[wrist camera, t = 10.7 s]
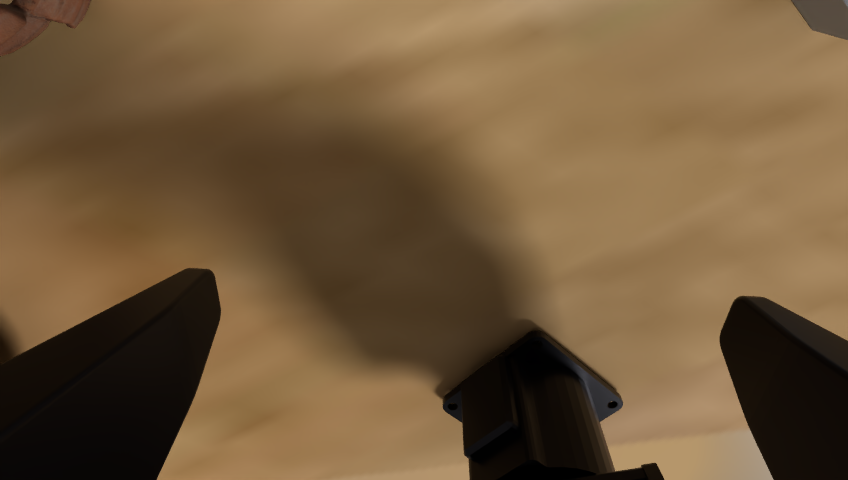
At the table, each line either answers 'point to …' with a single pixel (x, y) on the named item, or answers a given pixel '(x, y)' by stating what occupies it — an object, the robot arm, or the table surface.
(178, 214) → the table surface
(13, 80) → the table surface
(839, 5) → the socket block
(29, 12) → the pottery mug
